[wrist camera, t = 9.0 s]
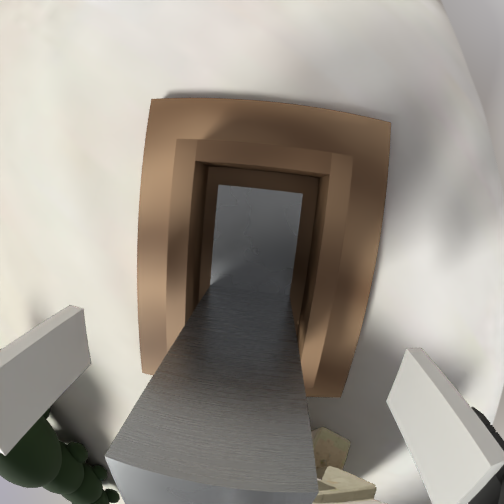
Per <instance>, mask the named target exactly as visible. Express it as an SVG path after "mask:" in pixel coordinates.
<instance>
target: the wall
mask: <svg viewBox="0 0 504 504" xmlns="http://www.w3.org/2000/svg"><path fill="white" fill-rule="evenodd" d="M311 435H312V442H313V450H314V457H315V465H316V473H317V482H318V490H319V493H318V494H317V496H316V498H315V499H314V501H313V503H312V504H388V503H381V502H380V501H377V500H374V495H375V492H376V487H375V485H374V484H373V483H370V482H367V481H365V480H364V479H361V478H358V477H357V476H355V475H352V474H350V473H348V472H345V471H343V467H344V464H345V461H346V457H347V454H348V451H349V448H350V443H351V442H350V441H349V440H347V439H346V438H344V437H342V436H340V435H338V434H336V433H334V432H332V431H330V430H329V429H327V428H325V427H321V428H318V429H315V430H313V431H311Z"/></svg>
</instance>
